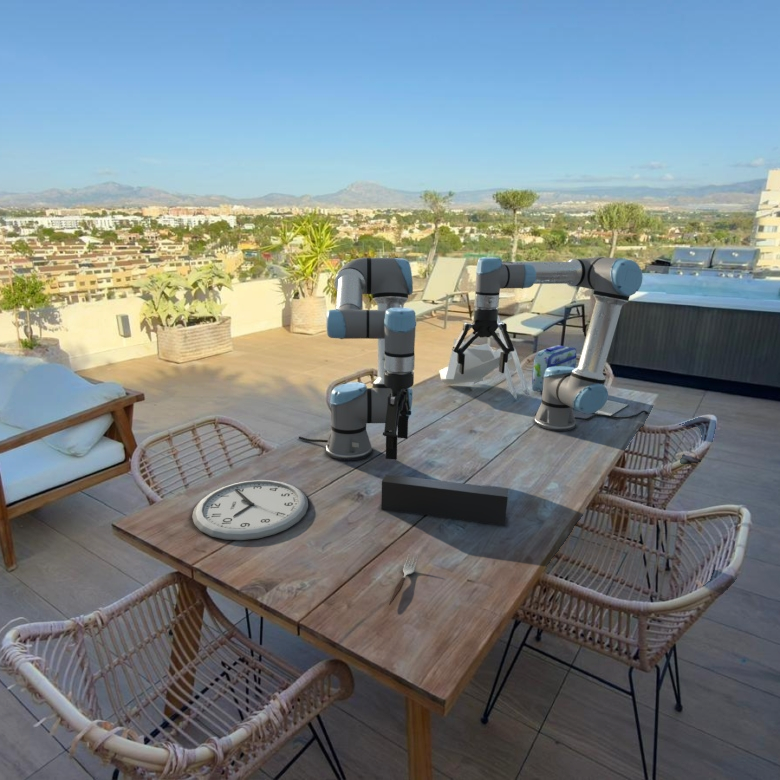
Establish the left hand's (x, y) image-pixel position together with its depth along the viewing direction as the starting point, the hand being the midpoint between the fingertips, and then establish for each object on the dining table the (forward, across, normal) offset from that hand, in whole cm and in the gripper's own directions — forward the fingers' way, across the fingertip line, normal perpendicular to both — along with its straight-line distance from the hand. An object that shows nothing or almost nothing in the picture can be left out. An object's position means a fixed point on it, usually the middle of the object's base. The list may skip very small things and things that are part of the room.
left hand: (397, 447), depth 138 cm
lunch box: (+19, -124, +48) cm, 134 cm away
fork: (+17, +32, +9) cm, 37 cm away
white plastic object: (+19, -111, +15) cm, 113 cm away
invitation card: (+19, -105, +68) cm, 126 cm away
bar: (+17, +1, +13) cm, 22 cm away
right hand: (-10, -44, +18) cm, 49 cm away
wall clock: (+17, +12, -37) cm, 42 cm away
